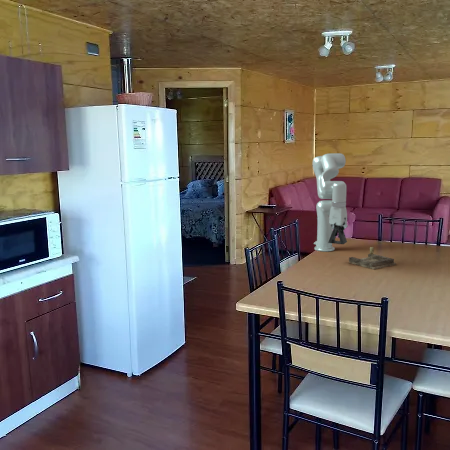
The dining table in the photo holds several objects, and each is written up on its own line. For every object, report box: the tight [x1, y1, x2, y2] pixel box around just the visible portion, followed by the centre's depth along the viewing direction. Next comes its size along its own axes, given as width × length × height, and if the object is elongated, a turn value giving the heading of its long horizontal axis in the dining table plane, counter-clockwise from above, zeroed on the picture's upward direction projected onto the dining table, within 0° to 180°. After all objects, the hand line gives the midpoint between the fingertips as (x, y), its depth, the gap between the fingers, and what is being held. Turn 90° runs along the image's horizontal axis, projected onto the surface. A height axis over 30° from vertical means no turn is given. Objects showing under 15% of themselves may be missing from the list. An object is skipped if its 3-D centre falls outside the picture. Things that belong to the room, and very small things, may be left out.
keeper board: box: [348, 246, 397, 270], centre depth 266 cm, size 18×18×7 cm
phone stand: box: [328, 223, 348, 245], centre depth 267 cm, size 9×6×12 cm, turn 58°
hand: (337, 236), depth 268 cm, fingers closed on phone stand, 3 cm apart
